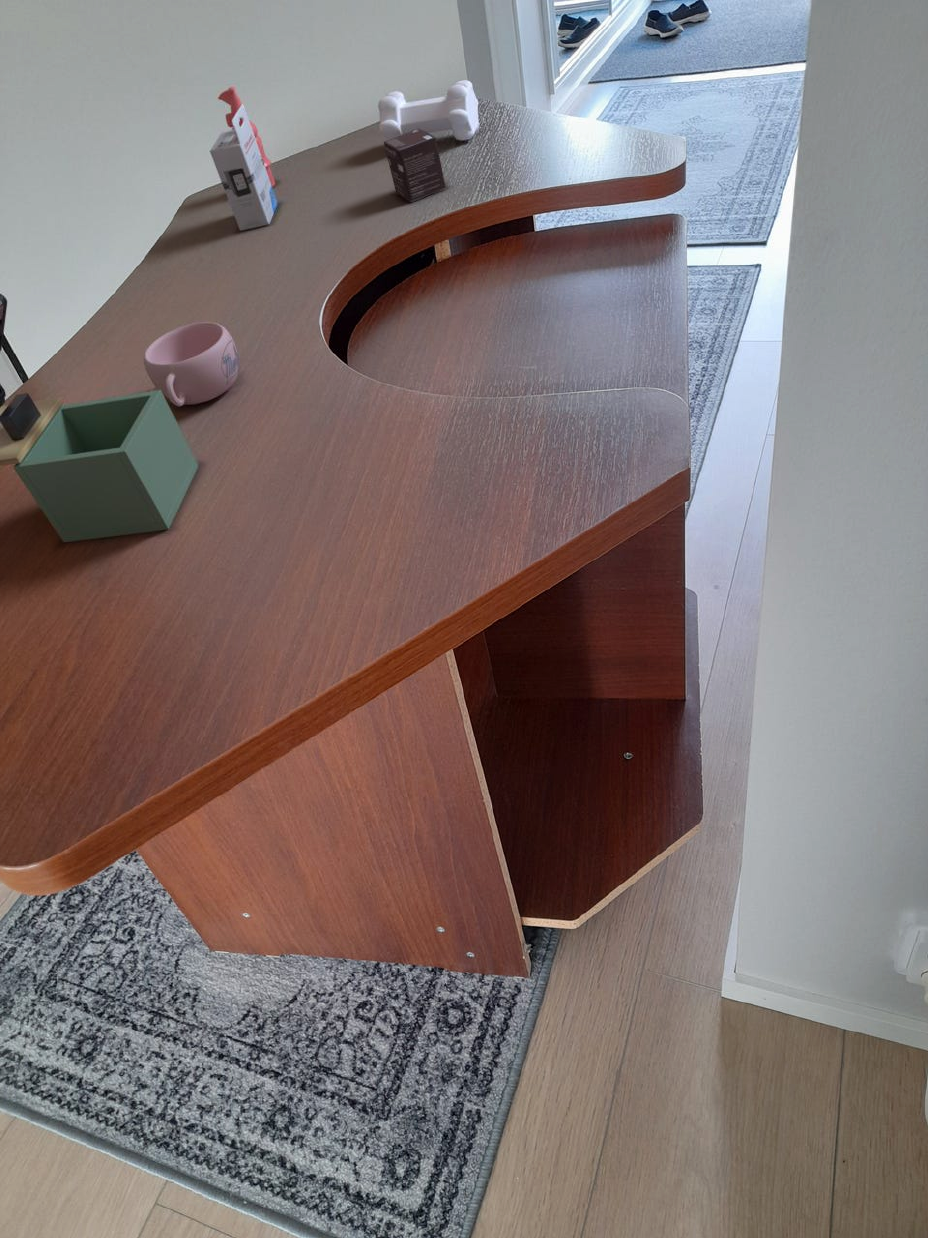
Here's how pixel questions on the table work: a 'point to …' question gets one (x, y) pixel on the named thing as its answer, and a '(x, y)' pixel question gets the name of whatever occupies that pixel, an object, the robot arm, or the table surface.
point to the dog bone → (431, 113)
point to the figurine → (235, 103)
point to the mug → (193, 363)
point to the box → (415, 165)
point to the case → (110, 467)
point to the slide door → (23, 425)
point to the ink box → (244, 174)
